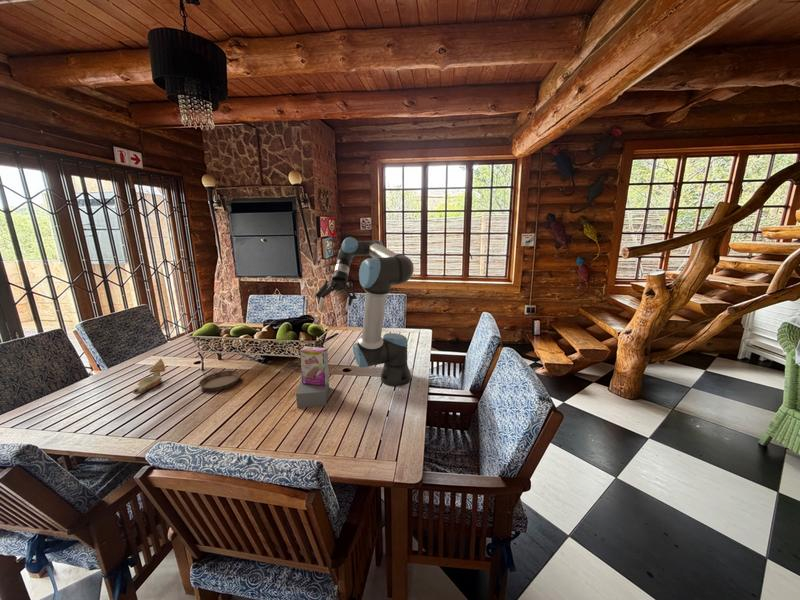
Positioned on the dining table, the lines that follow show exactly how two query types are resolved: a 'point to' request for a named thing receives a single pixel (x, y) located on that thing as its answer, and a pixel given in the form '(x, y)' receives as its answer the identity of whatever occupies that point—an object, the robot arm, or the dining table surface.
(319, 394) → the charcoal block
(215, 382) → the plant saucer
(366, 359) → the robot arm
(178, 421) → the dining table surface
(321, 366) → the candy bar box
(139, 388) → the oil lamp
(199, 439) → the dining table surface
